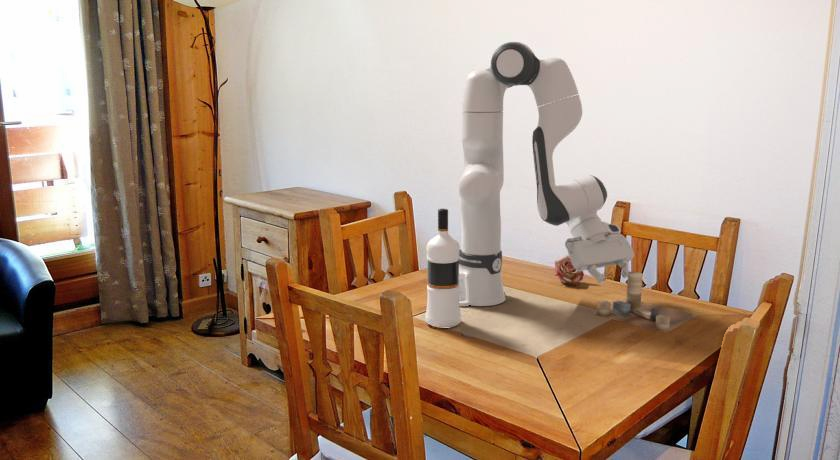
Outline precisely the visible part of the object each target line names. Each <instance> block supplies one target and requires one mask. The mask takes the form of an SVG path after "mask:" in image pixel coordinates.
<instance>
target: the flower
mask: <svg viewBox="0 0 840 460" xmlns="http://www.w3.org/2000/svg"><path fill="white" fill-rule="evenodd" d="M554 270H555V276H556V277H557V279H559V280H560V282H561V284H560V286H562V285H563V284H567V283H571V284H572V285H575V286H577V284H578V282H581V281H583V280H584V276H585V275H584V273H585V272H584V270H583V271H577V270H576V269H575V268H574V267H573V265H572V262H571V260H570V257H569V255H564V256H563V257H561V258H559V259H557V260H555V261H554Z"/></svg>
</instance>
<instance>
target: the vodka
mask: <svg viewBox="0 0 840 460" xmlns="http://www.w3.org/2000/svg"><path fill="white" fill-rule="evenodd" d="M425 249H426V259H427V286H426V290H427V291H426V292H427V299H426V311H425V315H424V316H425V317H424V318H425V319H424V320H425V323H426V322H427V323H428V324H430V325H432V326H436V327H453V326H456V325H457V326H459V325H460V324H461V322H462V313H461V309H460V307H461V306H460V305H459V288H460V286H459V259H460V256H459V252H460V250H461V247H460V243H459V242H458V240H457V239H455V238H454V237H453V236H451V235H449V209H447V208H438V209H437V235H435V236H433V237H432V238H431V239H430V240H428V242H427V245H426V248H425ZM427 323H426V324H427ZM459 323H460V324H459ZM428 324H427V325H428ZM458 324H459V325H458ZM457 326H456V327H457ZM453 328H454V327H453Z"/></svg>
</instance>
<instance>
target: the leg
mask: <svg viewBox="0 0 840 460" xmlns="http://www.w3.org/2000/svg"><path fill="white" fill-rule="evenodd" d="M643 275H644V274H643V273H642V272H639V271H630V272H628V277H627V283H626V284H627V287H626V298H627V299H626V298H625V299H626V303H628V304H631V308H630V312H633V313H636V314H638V315H640V316H642V317H644V318H647V319H651V321H656V316H657V315H659V309H658V308H651V312H649V311H647V310H645V309H642V308H640V307H641V302H642V290H643V288H642V287H643Z"/></svg>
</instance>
